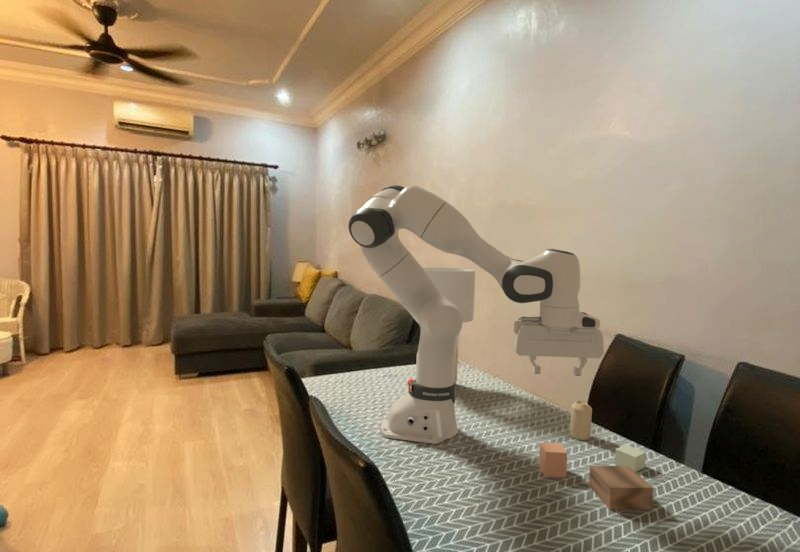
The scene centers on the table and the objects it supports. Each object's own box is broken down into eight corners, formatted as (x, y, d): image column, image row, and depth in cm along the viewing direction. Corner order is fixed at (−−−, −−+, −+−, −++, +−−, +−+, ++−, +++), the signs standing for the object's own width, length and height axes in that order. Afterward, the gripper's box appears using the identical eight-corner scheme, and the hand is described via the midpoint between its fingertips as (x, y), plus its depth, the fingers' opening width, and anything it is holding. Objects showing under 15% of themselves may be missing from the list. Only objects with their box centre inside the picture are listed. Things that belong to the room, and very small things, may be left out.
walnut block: (609, 510, 93) (610, 487, 92) (588, 487, 102) (590, 465, 101) (651, 510, 93) (652, 487, 93) (627, 486, 102) (628, 465, 102)
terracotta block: (544, 476, 105) (545, 451, 105) (538, 465, 110) (540, 442, 110) (566, 477, 105) (567, 452, 105) (559, 466, 110) (560, 443, 110)
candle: (592, 441, 125) (594, 406, 124) (571, 439, 126) (573, 404, 125) (588, 433, 130) (590, 399, 129) (568, 431, 131) (570, 398, 131)
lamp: (407, 376, 181) (410, 267, 177) (462, 376, 183) (466, 268, 180) (415, 396, 158) (419, 270, 155) (478, 395, 160) (482, 272, 157)
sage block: (614, 464, 112) (615, 449, 112) (625, 459, 115) (626, 444, 115) (634, 473, 108) (635, 457, 108) (645, 467, 111) (646, 452, 111)
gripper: (516, 318, 104) (514, 376, 105) (607, 321, 102) (605, 380, 103) (512, 314, 111) (510, 368, 112) (598, 316, 108) (596, 372, 109)
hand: (556, 374), depth 107 cm, fingers open, 8 cm apart
